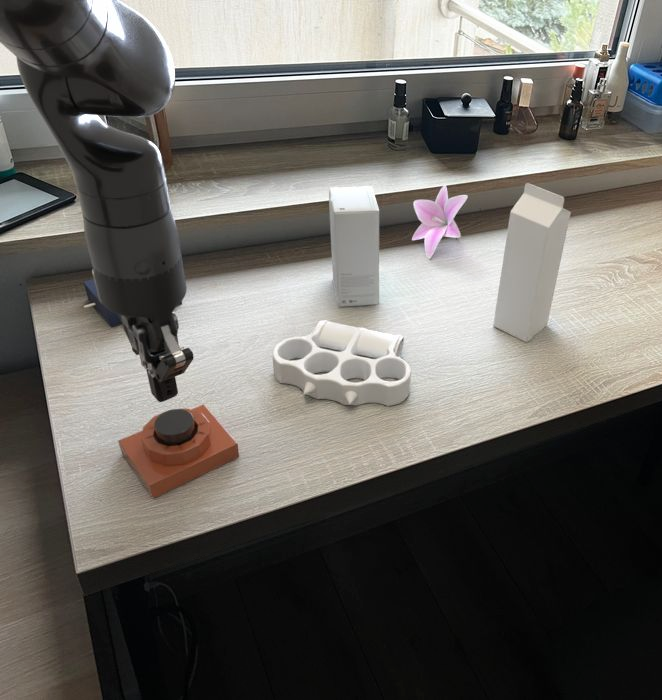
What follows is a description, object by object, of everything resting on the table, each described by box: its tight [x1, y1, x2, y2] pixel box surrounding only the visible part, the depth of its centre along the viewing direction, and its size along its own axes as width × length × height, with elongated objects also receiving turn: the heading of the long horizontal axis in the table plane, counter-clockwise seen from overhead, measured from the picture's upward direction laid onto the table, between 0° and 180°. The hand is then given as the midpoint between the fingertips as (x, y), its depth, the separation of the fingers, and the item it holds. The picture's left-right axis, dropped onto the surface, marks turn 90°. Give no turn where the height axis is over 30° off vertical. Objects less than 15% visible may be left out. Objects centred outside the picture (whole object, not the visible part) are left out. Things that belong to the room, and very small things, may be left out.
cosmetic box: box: [328, 185, 380, 308], centre depth 105 cm, size 8×7×16 cm
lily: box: [411, 183, 469, 260], centre depth 122 cm, size 12×12×10 cm
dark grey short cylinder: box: [154, 408, 196, 446], centre depth 78 cm, size 4×4×2 cm
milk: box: [492, 182, 572, 343], centre depth 100 cm, size 6×6×22 cm
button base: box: [117, 404, 240, 499], centre depth 80 cm, size 10×8×4 cm
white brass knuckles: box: [272, 319, 412, 407], centre depth 94 cm, size 3×18×15 cm
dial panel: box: [83, 278, 183, 328], centre depth 100 cm, size 12×10×3 cm
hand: (165, 395), depth 76 cm, fingers closed
